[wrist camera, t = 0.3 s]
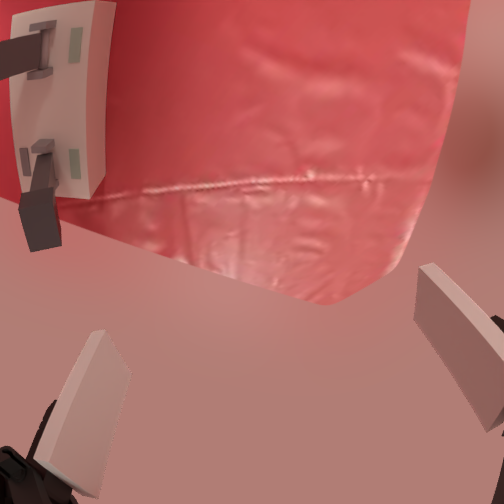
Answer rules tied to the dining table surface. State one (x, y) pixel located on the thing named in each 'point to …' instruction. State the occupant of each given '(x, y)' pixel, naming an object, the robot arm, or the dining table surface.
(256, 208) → the dining table surface
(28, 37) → the inner lever
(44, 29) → the switch panel
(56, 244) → the outer lever
